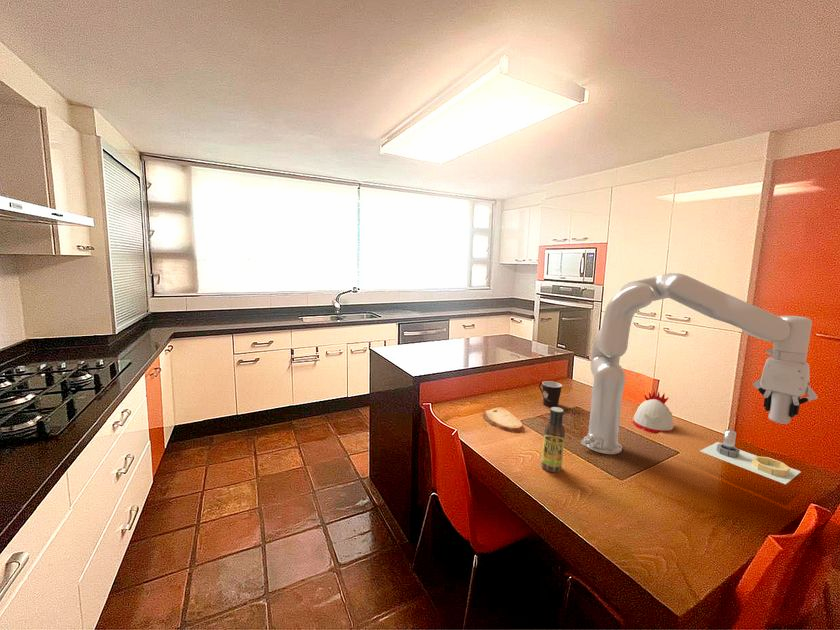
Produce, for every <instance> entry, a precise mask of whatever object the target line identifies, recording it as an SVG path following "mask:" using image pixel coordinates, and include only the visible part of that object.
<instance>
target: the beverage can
mask: <svg viewBox="0 0 840 630" xmlns="http://www.w3.org/2000/svg"><path fill="white" fill-rule="evenodd" d="M791 404H793V399H792V395H787V394H783V393H778V392H774V391H772V395H771V403H770V410H769V411H768V419H769V420H770V421H772V422H774V423H778V424H783V425H787V424H789V423H790V422H791V418H792V417H790V416H789V413H790V406H791Z"/></svg>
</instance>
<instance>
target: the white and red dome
mask: <svg viewBox="0 0 840 630" xmlns="http://www.w3.org/2000/svg"><path fill="white" fill-rule="evenodd" d="M655 391H656V390H653V393H652V394H651V392H648V396H647V395H646V394H644V399H645V400H643V402H641V404H640V405H639V406H638V407H637V409H636V411H635V413H634V416H633V418H632V419H633V420H632V424H633V425H634V426H635V427H636V428H638V429H640V430H642V431H644V432H648V433H652V434H659V433H662V432H672V431H673V430H674V419H673V416H672V415H673V413H672V412H671V410H670V409H669V407H668V406H667V405H666V402H667V401H668V400H669V397H670V396H668V397H666V398H665V394H666V393H665V392H663V394H662V396H660V391H658V393H657V396H656V392H655Z"/></svg>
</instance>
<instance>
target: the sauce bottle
mask: <svg viewBox="0 0 840 630" xmlns="http://www.w3.org/2000/svg"><path fill="white" fill-rule="evenodd" d="M549 413H550V414H549V416H550V417H549V422H548V423H547V424H546V425H545V428H544V433H543V439H542V440H543V442H542V452H541V467H542V468H543V469H544V470H546V471H548V472H552V473H559V472H560V471H561V469H562V465H563V457H564V449H565V441H566V438H565V436H566V429H565V428H564V425H563V418H564V415H565V411H564V409H563V408H561V407H550V410H549Z"/></svg>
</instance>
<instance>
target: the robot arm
mask: <svg viewBox="0 0 840 630" xmlns="http://www.w3.org/2000/svg"><path fill="white" fill-rule="evenodd" d="M664 299H670V300H673V301H674V302H677V303H679V304H680V305H683V306H686V307H687V308H688V309H689V308H690V309H691V310H694V311H695V312H698V313H700V314H702V315H704V316H705V317H708V318H711V319H713V320H716V321H719V322H723V323H726V324H730V325H732V326H734V327H736V328H739V329H741V331H742V332H743V333H744V334H746V335H748V336H750V337H753V338H756V339H759V340H763V341H765V342H768V343H772V348H770V349H768V348H767V349H766V350H765V354H768V355H770V357H767V358H766V360H765V363H764V365H763V369H762V371H761V377H760V378H759V379H757V380H756V381H754V382H753V383H751V384H752V387H754V388H755V389H757V390H758V392H759V393H760V394H761V395H762V397H763V398H764V401H763V407H764V409H765V410H764V411H766V412H769V410H770V403H771V396H772V391H774V392H778V393H783V394H787V395H792V399H793V404H791V406H790V413H789V416H790V417H791V418H794V417H796V416H798V415H799V413H800V412H799V411H800V405H802V404H805V403H808V402H811V401H815V400H817V399H818V398H819V397H818V395H817V394H816V392H815V391H814V389H813V388H812V387H811V386H810V379H811V377H810V375H811V373H810V372H811V371H810V370H811V369H810V364H809V363H808V362H807V357H808V352H809V345H810V339H811V332H812V326H813V321H812V320H811V318H809V317H806V316H799V315H776V314H774V313H772V312H769V311H768V310H765V309H763V308H760V307H758V306H756V305H754V304H751V303H749V302H747V301H744V300H742V299H739V298H738V297H735V296H733V295H731V294H729V293H726V292H723V291H721V290H719V289H717V288H715V287H713V286H710V285H709V284H706V283H705V282H702V281H700V280H698V279H696V278H693V277H691V276H688V275H686V274H684V273H677V272H676V273H675V272H674V273H673V272H670V273H663V274H661V275H655V276H652V277H648V278H644V279H643V278H642V279H639V280H638V279H637V280H634V281H630V282H627V283H625V284H624V285H623V286H622V287H621V288H620V291H619V292H617V294H615V295H614V296H613V297H612V298H611V300H609V302H608V304H607V305H606V307H605V309H604V312H603V313H604V314H603V319H602V324H601V328H600V329H599V330H598V331H597V332H596V334H595V335H594V339H593V345H592V351H591V359H590V370H591V373H592V375H593V384H592V388H591V389H592V391H591V396H590V413H589V423H588V433H587V435H584V437H583V438H582V439H581V440H580V443H581V446H585V447H586V448H587V449H589V450H592V451H593V452H596V453H600V454H604V455H618V454H620V453H621V452H622V450H623V446H622V444H621V443H620V442H618V439H619V433H620V432H619V431H620V429H619V428H620V422H621V421H620V419H621V410H622V409H621V408H622V399H623V395H624V388H625V384H626V374H625V371H624V369H623V367H622V366H621V365H620V359H621V357H623V356H624V355H625V354H626V353H627V350H628V346H629V337H630V330H631V325H632V320H633V318H634V315H635V314H636V313H637V312H638V311H639V310H641V309H643V308H644V309H645V308H646V307H648V306H650V305H651V304H652V302H655V301H656V302H657V301H660V300H664ZM805 395H808V396H805ZM804 396H805V397H804Z"/></svg>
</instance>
